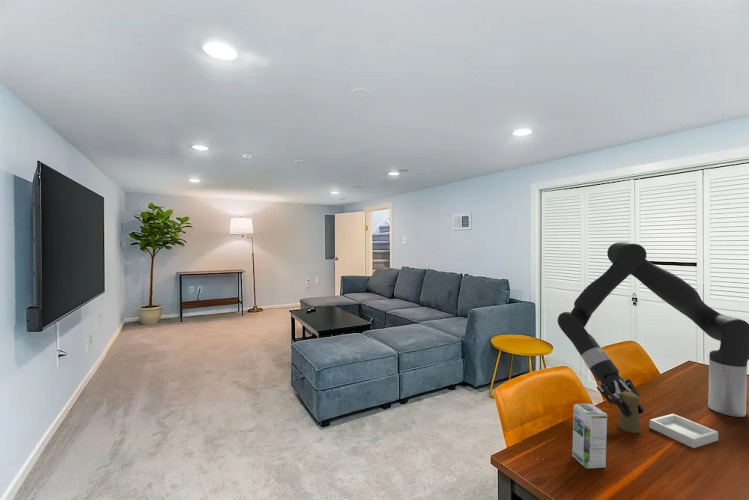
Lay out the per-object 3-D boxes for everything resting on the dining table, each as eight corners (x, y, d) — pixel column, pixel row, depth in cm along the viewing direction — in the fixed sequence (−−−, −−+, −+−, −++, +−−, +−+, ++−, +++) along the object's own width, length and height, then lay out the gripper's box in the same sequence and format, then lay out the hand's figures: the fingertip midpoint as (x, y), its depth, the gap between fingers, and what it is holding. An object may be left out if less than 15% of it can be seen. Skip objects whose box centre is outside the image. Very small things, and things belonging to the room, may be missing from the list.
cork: (645, 434, 105) (645, 398, 105) (623, 431, 107) (623, 396, 106) (634, 423, 111) (635, 390, 111) (613, 421, 112) (614, 388, 112)
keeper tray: (672, 421, 113) (673, 413, 113) (717, 440, 102) (718, 431, 102) (649, 427, 109) (649, 419, 109) (693, 448, 98) (694, 439, 98)
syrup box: (571, 455, 94) (572, 403, 94) (591, 454, 95) (592, 402, 95) (585, 469, 89) (586, 414, 88) (607, 468, 89) (608, 413, 89)
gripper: (591, 361, 113) (629, 414, 102) (621, 356, 118) (660, 406, 107) (577, 371, 118) (611, 422, 107) (606, 366, 123) (641, 415, 112)
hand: (635, 414), depth 107 cm, fingers closed on cork, 5 cm apart
